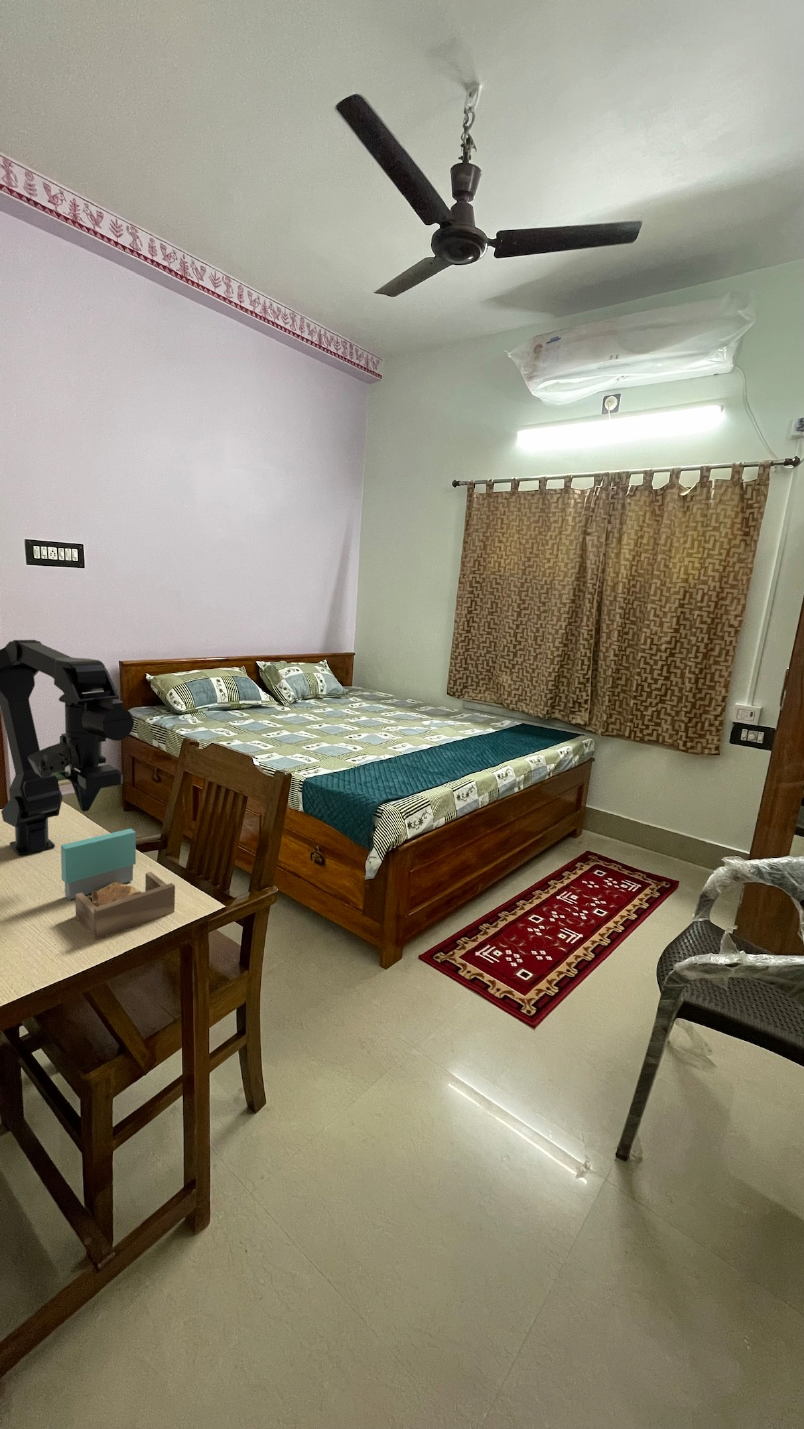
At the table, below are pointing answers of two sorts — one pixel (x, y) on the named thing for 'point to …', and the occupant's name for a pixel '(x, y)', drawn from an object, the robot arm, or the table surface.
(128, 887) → the shard
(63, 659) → the robot arm
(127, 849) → the block
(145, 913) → the box
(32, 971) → the table surface
